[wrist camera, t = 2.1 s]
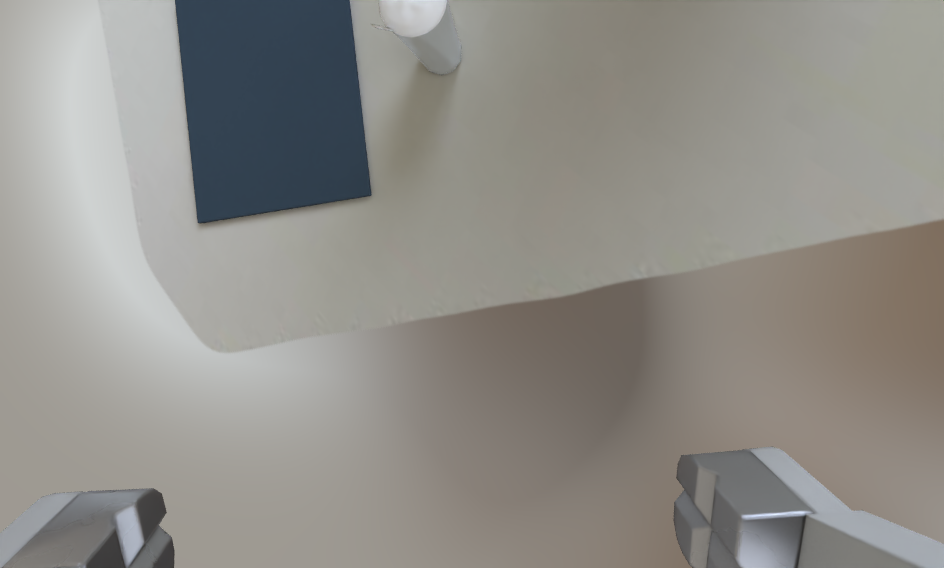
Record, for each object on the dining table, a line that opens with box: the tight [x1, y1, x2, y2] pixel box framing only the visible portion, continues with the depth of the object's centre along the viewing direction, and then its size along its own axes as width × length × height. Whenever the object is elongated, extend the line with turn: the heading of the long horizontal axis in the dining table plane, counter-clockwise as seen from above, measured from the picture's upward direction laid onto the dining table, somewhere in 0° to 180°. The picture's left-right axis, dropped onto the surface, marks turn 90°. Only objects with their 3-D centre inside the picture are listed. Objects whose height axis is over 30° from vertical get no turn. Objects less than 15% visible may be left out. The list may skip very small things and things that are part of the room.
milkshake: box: [371, 0, 462, 75], centre depth 37 cm, size 4×5×10 cm
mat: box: [175, 0, 371, 223], centre depth 45 cm, size 20×16×1 cm
